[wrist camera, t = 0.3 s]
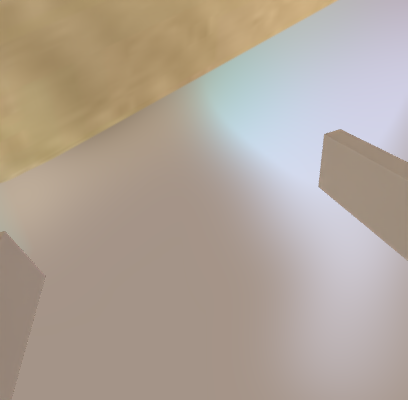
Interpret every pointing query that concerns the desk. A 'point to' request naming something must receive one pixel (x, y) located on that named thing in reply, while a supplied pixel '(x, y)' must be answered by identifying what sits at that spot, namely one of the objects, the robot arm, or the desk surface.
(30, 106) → the desk surface
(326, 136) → the robot arm
